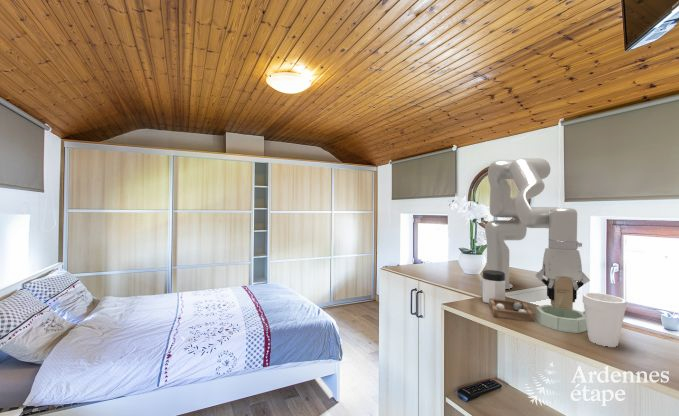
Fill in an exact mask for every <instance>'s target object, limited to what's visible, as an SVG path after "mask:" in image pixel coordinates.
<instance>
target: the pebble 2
mask: <svg viewBox="0 0 679 416" xmlns="http://www.w3.org/2000/svg"><path fill="white" fill-rule="evenodd" d="M519 302H520V301H517V302H516V303H514V305H513V307H514V311H518V310H520V309H522V308H523V306H522V304H521V303H519Z"/></svg>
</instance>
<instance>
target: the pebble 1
mask: <svg viewBox="0 0 679 416" xmlns="http://www.w3.org/2000/svg"><path fill="white" fill-rule="evenodd" d="M496 307H497V309H500V310H506V308H505V307H504V305H503V304H500V303H499V304H497V305H496Z"/></svg>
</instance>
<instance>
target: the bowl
mask: <svg viewBox="0 0 679 416" xmlns="http://www.w3.org/2000/svg"><path fill="white" fill-rule="evenodd" d="M535 319H536V321H537V323H539V324H540V325H541V326H544V327H546V328H549V329H552V330H554V331H558V332H566V333H574V334H580V333H583V332H586V331H587V323H586V316H585V313H583V312H582V311H580V310H577V309H574V308H573V310H568V309H558V308H554V307H553V306H552V305H551V304H543V305H538V306H536V307H535ZM587 332H588V331H587Z"/></svg>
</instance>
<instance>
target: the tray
mask: <svg viewBox="0 0 679 416" xmlns="http://www.w3.org/2000/svg"><path fill="white" fill-rule="evenodd" d="M516 302H519V303H521V304H522V306H523V308H522V309H524V310H526V311H527V312H518V311H517V310H515V309H514V307H513V305H514V303H516ZM499 303H500V304H503V305H504V307H505V310H500V309H497V307H496V305H497V304H499ZM488 304H489V308H490V310H491V312H492V315H493V317H494V318H499V319H508V320H517V321H524V322H534V321H535V315H534V314H535V313H534V312H533V311H532V310H531V309H530V308H529V306H528V304H527V303H526V302H523V301H515V300H506V299H505V300H497V299H489V303H488ZM507 309H512V310H507ZM513 309H514V310H513Z"/></svg>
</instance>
